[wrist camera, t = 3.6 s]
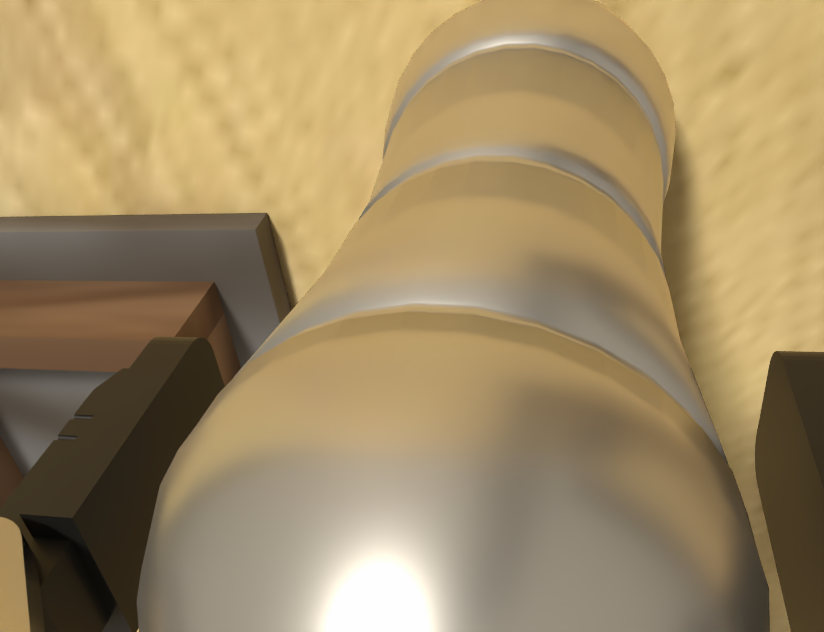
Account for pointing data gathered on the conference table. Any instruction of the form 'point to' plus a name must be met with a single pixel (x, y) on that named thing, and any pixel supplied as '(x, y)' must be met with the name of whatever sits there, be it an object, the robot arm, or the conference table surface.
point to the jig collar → (120, 308)
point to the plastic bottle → (476, 379)
